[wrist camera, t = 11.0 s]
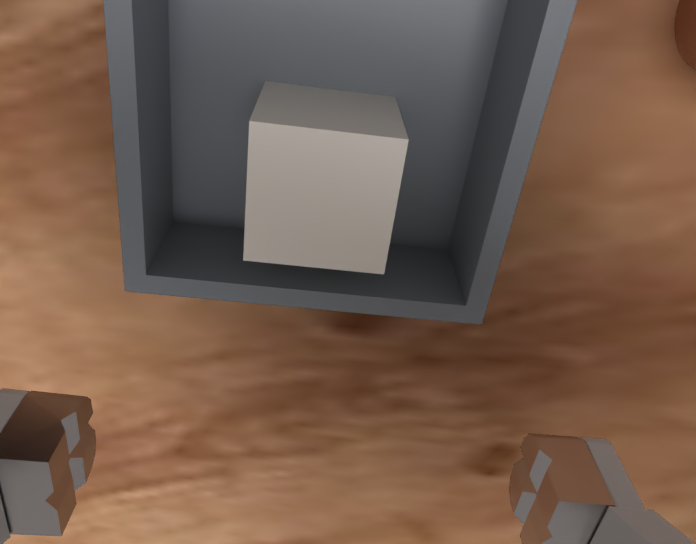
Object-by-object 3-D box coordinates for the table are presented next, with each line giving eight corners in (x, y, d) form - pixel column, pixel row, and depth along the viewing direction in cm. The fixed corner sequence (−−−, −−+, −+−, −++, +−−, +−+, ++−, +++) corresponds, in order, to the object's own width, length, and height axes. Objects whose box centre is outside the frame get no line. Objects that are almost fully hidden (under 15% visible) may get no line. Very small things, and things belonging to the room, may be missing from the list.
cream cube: (395, 97, 23) (408, 139, 19) (375, 213, 26) (384, 274, 22) (265, 80, 23) (249, 120, 19) (258, 201, 26) (242, 260, 21)
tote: (459, 260, 28) (481, 324, 24) (158, 229, 27) (124, 291, 23) (582, -225, 19) (654, -264, 15) (138, -301, 18) (76, -366, 14)
